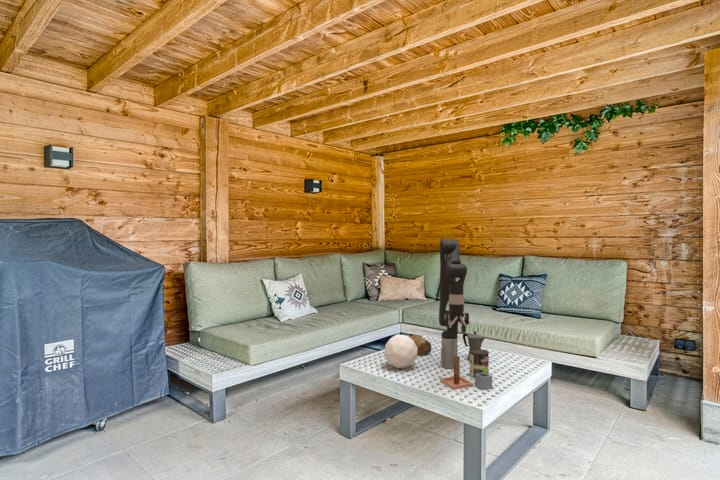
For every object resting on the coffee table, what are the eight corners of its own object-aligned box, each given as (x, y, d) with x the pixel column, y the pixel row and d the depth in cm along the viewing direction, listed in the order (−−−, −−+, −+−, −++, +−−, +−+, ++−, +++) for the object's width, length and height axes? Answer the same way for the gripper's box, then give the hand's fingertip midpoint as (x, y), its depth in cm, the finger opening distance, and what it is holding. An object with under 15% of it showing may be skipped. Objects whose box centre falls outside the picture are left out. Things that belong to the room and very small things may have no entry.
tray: (440, 383, 219) (440, 378, 219) (459, 379, 223) (459, 375, 223) (453, 391, 208) (453, 386, 208) (473, 387, 212) (473, 383, 212)
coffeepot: (488, 360, 256) (488, 331, 256) (480, 364, 249) (480, 334, 249) (466, 355, 267) (466, 327, 267) (458, 358, 260) (458, 330, 260)
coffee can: (492, 377, 227) (492, 351, 227) (480, 381, 221) (480, 355, 221) (477, 372, 235) (477, 347, 235) (465, 376, 229) (465, 350, 229)
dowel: (452, 382, 216) (452, 356, 216) (457, 382, 217) (457, 355, 217) (455, 384, 213) (455, 357, 213) (460, 384, 215) (460, 357, 214)
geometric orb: (393, 380, 242) (372, 353, 242) (405, 359, 259) (385, 334, 258) (417, 370, 231) (396, 342, 231) (428, 349, 248) (408, 323, 247)
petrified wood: (434, 354, 269) (431, 339, 267) (416, 360, 265) (413, 346, 263) (420, 345, 287) (417, 332, 286) (403, 351, 283) (401, 337, 282)
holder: (474, 387, 212) (474, 373, 212) (484, 385, 215) (484, 372, 215) (482, 391, 207) (482, 377, 207) (492, 389, 209) (492, 376, 209)
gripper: (463, 300, 221) (463, 330, 221) (440, 302, 215) (440, 333, 216) (472, 302, 214) (472, 334, 214) (448, 304, 208) (448, 336, 209)
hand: (456, 333), depth 215 cm, fingers open, 8 cm apart
